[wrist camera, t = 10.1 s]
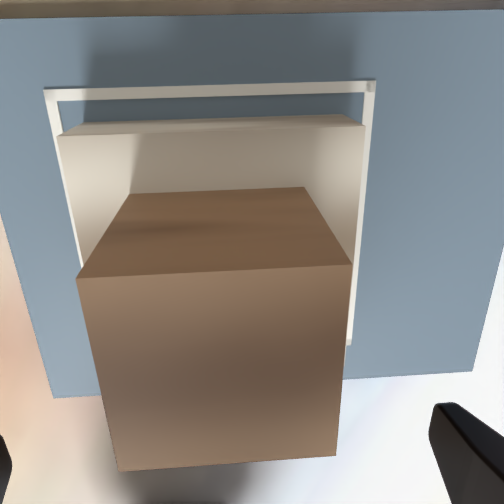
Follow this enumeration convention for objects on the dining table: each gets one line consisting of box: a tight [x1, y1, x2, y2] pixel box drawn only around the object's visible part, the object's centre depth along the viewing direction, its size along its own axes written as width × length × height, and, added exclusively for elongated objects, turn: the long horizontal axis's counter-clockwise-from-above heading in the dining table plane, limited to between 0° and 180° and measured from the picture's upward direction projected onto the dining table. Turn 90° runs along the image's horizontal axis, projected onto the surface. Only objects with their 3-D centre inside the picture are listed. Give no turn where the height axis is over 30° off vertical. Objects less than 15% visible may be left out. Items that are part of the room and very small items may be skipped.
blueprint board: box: [0, 9, 504, 398], centre depth 19 cm, size 17×22×1 cm
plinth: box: [56, 114, 366, 366], centre depth 17 cm, size 10×10×3 cm
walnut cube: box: [75, 187, 353, 472], centre depth 13 cm, size 6×6×6 cm
